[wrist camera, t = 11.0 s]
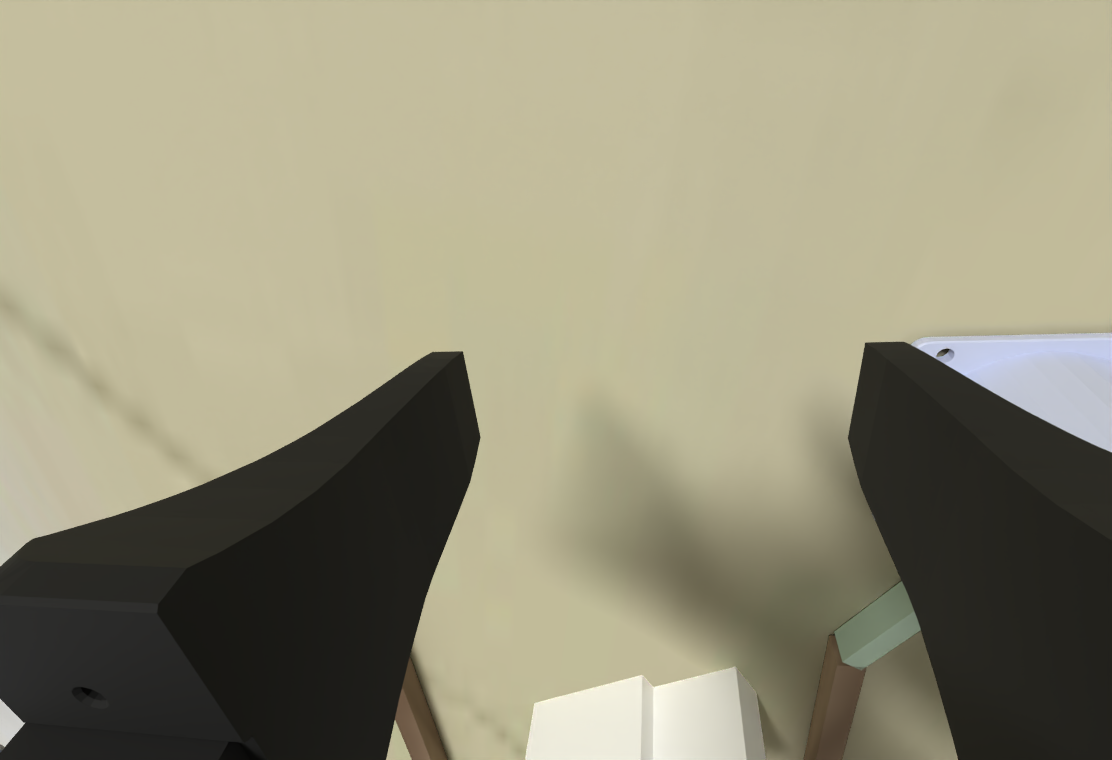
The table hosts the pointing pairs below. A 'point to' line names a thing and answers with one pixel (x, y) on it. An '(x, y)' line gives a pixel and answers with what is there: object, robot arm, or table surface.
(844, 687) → the napkin dock
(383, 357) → the table surface
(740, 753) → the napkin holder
